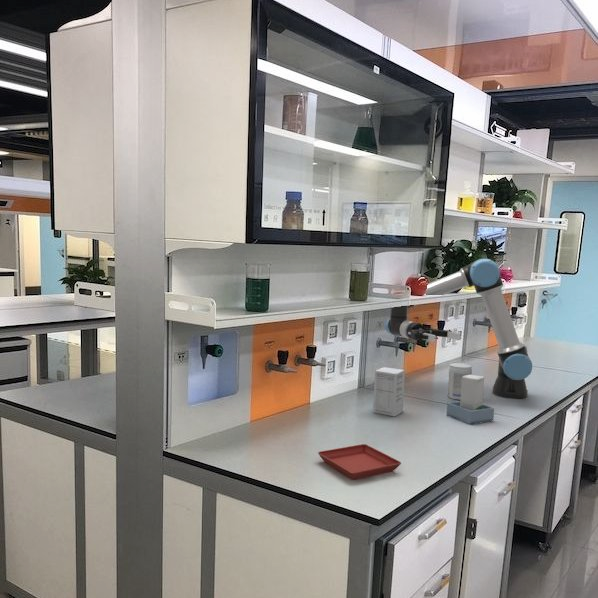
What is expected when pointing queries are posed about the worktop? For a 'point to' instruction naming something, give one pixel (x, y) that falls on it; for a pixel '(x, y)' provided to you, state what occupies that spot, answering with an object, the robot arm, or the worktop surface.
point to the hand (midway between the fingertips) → (447, 337)
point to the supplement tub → (457, 379)
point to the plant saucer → (359, 461)
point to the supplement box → (388, 391)
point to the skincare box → (472, 392)
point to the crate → (470, 413)
